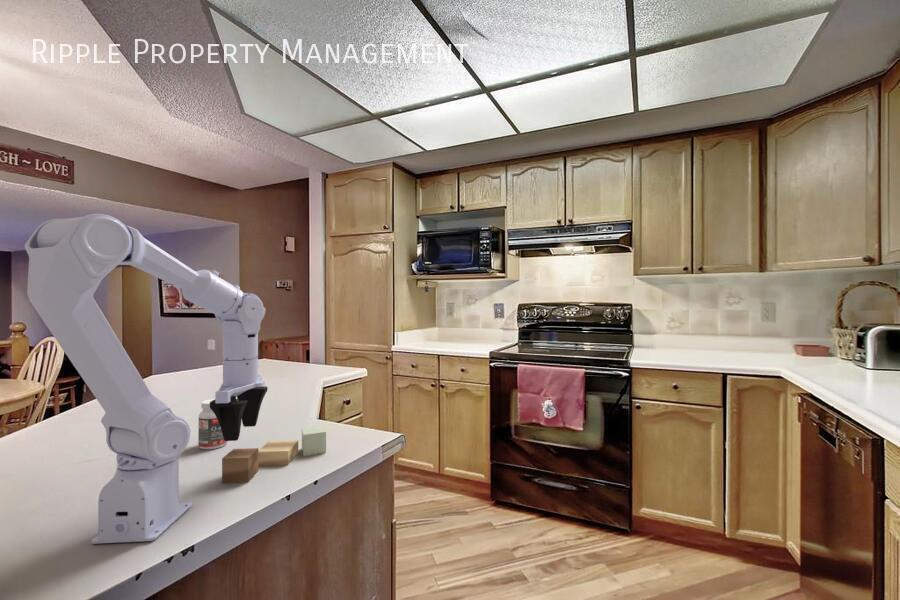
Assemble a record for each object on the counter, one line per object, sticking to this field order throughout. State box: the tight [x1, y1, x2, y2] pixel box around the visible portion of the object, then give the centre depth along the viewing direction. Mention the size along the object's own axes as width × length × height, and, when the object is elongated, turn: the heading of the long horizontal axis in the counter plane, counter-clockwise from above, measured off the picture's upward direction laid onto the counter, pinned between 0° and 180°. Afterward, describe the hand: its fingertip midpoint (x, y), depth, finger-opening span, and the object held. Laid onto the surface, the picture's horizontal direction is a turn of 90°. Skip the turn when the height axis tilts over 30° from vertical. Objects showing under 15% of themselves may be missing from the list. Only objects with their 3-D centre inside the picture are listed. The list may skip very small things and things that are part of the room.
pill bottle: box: [197, 398, 229, 450], centre depth 89 cm, size 6×6×10 cm
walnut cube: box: [221, 447, 260, 484], centre depth 73 cm, size 4×4×4 cm
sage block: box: [301, 425, 327, 457], centre depth 86 cm, size 4×4×4 cm
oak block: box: [258, 439, 299, 466], centre depth 81 cm, size 6×6×3 cm
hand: (241, 432), depth 73 cm, fingers open, 7 cm apart
